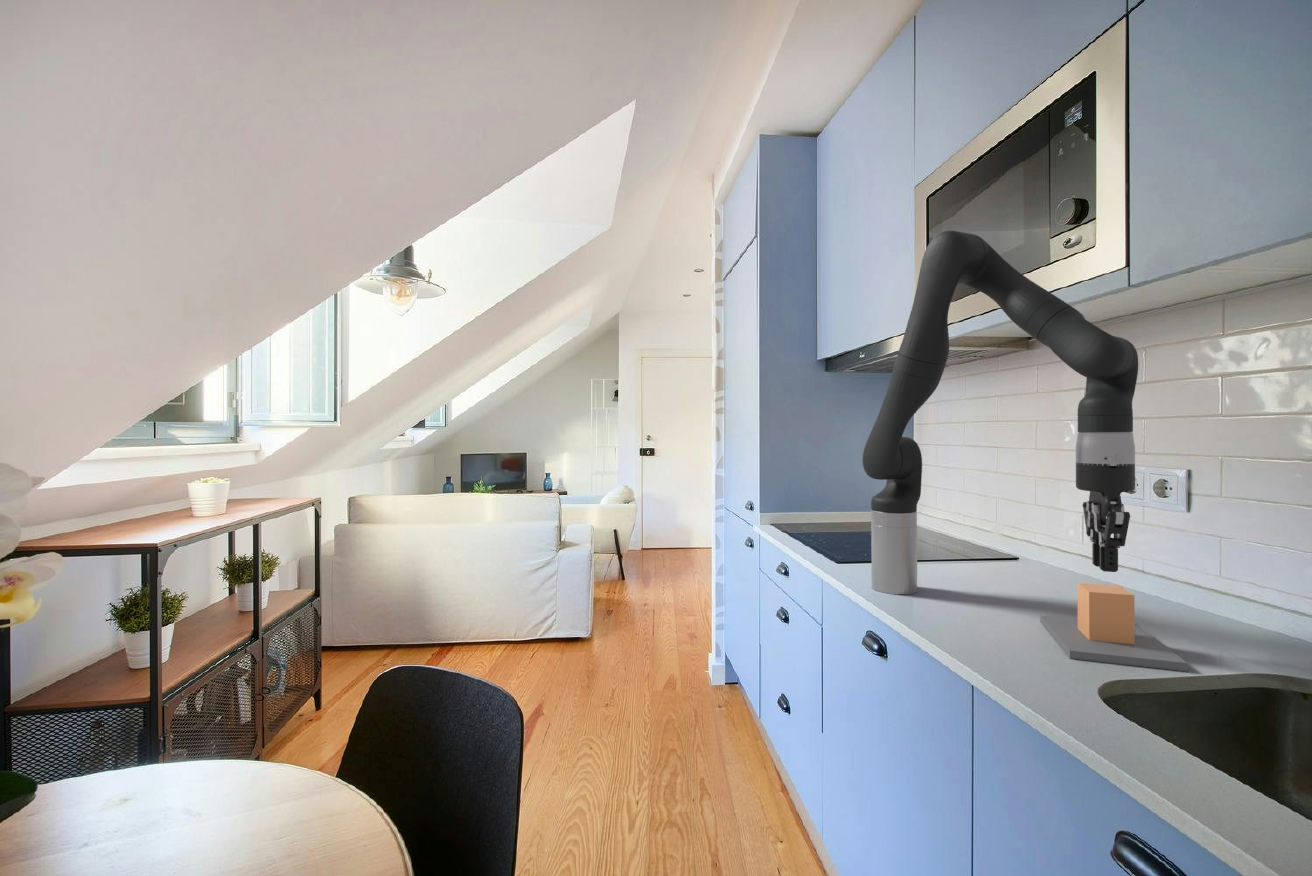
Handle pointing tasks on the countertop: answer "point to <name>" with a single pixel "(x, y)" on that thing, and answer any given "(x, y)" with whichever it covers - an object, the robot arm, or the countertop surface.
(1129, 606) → the peach foam cube
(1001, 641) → the countertop surface
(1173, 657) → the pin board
